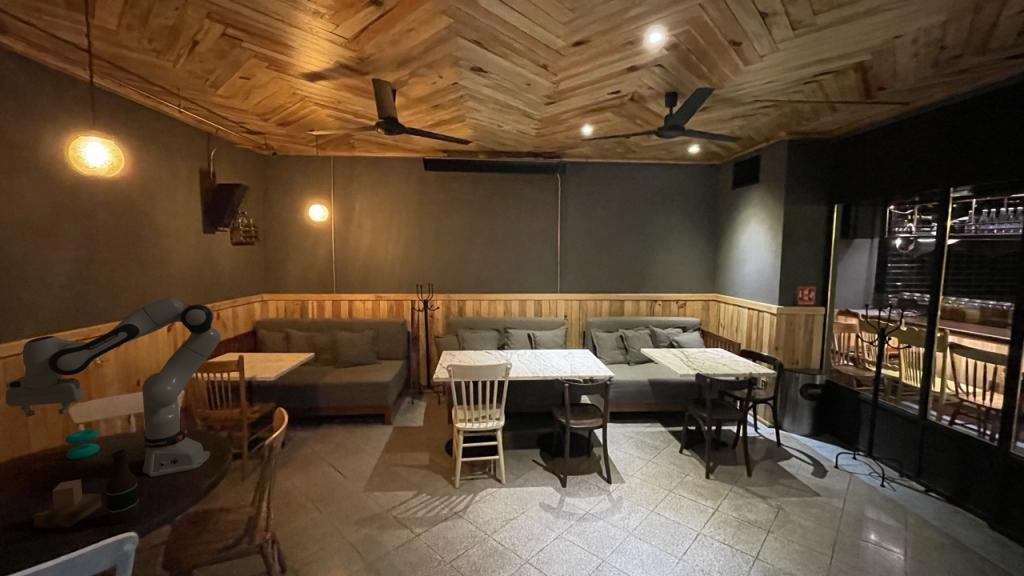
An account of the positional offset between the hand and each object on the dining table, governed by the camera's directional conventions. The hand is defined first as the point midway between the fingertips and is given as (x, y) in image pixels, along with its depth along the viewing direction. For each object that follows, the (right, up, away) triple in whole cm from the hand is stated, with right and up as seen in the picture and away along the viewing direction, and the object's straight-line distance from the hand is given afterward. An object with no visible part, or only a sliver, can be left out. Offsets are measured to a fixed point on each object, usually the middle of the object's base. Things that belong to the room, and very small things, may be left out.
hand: (46, 414), depth 149 cm
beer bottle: (+41, -32, -12) cm, 54 cm away
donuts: (-14, -26, +26) cm, 40 cm away
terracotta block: (+23, -27, -13) cm, 38 cm away
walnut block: (+23, -32, -12) cm, 41 cm away
